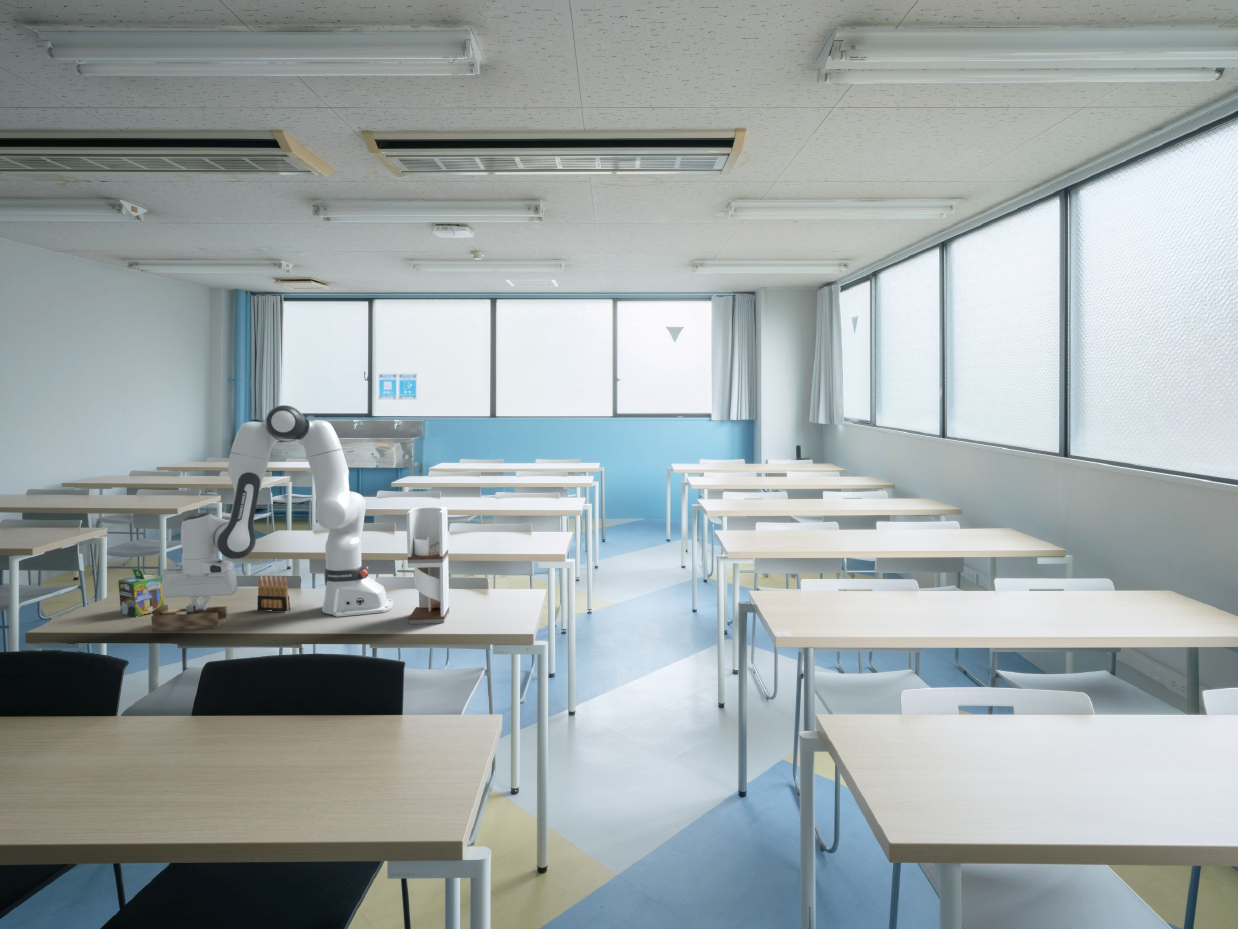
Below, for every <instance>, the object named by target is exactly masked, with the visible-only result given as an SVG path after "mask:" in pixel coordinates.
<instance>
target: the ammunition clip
mask: <svg viewBox="0 0 1238 929" xmlns="http://www.w3.org/2000/svg"><path fill="white" fill-rule="evenodd" d="M273 576H274V577H272V575H271V574H270V575H268V576H267V575H266V574H264V577H263V576H262V574H259V576H258V587H257V590H258V592H257V593H258V594H257V611H258V610H272V611H271V612H275V611H287V612H289V610H290V611H291V605H290V603H291V602H290V595H289V587H288V580H287V577H286V575H284V576H283V577H282V576H281V575H278V578H277V576H276V575H273ZM282 578H283V579H282Z"/></svg>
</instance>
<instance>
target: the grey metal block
mask: <svg viewBox="0 0 1238 929" xmlns="http://www.w3.org/2000/svg"><path fill="white" fill-rule="evenodd" d="M185 608H186V612H180V613H178V614H198V613H199V611H196V610H195V605H194V604H193V603H192V602H191V603H190V604H188V605H186V606H185Z"/></svg>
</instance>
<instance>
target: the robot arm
mask: <svg viewBox="0 0 1238 929" xmlns="http://www.w3.org/2000/svg"><path fill="white" fill-rule="evenodd" d="M295 441H299V442H300V444H302V446H303V448H304V449H303V450H304V452H305V455H306V458H307V462H308V464H309V468H310V472H311V475H312V477H313V484H314V491H315V500H316V503H315V504H316V508H315V514H314V516H315V520H316V522H317V523H318V524H319V525H320V527H322V528H325V529H327V530H328V536H327V539H326V543H325V546H324V547H325V568H324V574H323V575H324V584H325V585H324V586H325V593H324V594H325V595H324V601H323V605H322V608H321V611H322V613H324V614H328V615H333V616H334V617H348V616H357V615H358V616H360V615H368V614H378V613H379V614H380V613H385V612H388V611H390V610H391V609H392V608H393V607H394V600H393V599H392V598H387V591H386V589H385V587H384V586H383V585H382V584H381V583H379V582H377V581H376V580H374V579H373V578H372V577H369V566H364V565H362V536H363V530H364V524H365V516H366V515H365V514H366V510H367V507H368V506H367V501H366V499H365V497H364V496H363V495H362V494H360V493H359V492H356V491H352V490H350V484H349V476H350V470H349V467H348V464H347V460H346V457H345V454H344V451H343V450H344V449H343V448H342V444H341V441H340V438H339V436H338V434H337V432H336V431H335V428H334V427H333V425H332V424H331V423H330V422H328V421H327V420H324V419H323V420H322V419H321V420H319V419H317V420H311V421H310V420H309V419H307V417H306V416H305V415H304V414H303V413H302V412H301V411H300V410H299V409H298V408H296V407H293V406H290V405H284V404H282V405H278V406H277V405H276V406H275V407H273V408H272V409H271V410H270V411H269V412H268V413H267V415H266V418H265V421H264V422H262V421H261V422H259V421H247V422H244V423H242V424H241V425H240V427H239V428H238V430H237V433H236V435H235V437H234V440H233V442H232V445H231V450H230V453H229V458H228V464H227V466H228V468H227V471H228V472H227V474H228V477H229V479H230V481H231V484H232V487H233V490H234V491H233V492H234V493H233V494H234V496H233V497H234V498H233V501H232V507H231V511H230V512H231V513H230V517H229V520H228V519H225V518H221V517H218V516H215V515H214V514H212V513H210V512H199V513H194V514H190V515H188V516H186V517H185V518H183V520H182V522H181V527H180V546H181V547H182V553H181V566H168V567H166V568H165V569H163V571H162V572H161V575H162V576H161V577H162V585H163V586H162V595H163V597H164V598H166V599H168V598H171V599H172V598H190V601H191V603H193V604H194V605H195V610H196V611H199V610H206V609H207V607H208V602H209V601H210V600H211V597H218V596H223V597H224V596H232V595H233V594H235V593H236V592H237V591H238V582H237V576H236V572H235V571H234V570H232V569H233V567H234V563H233V562H232V561H228V560H225V559H221V558H218V557H216V553H217V552H219V553H221V555H223V556H224V557H226V558H227V559H228V558H229V559H232V560H233V559H234V560H235V559H236V560H237V559H241V558H245V557H247V556H248V555H249V554H250V553H252V551H253V550H254V548H255V545H256V542H257V541H256V534H255V530H254V520H255V513H256V509H257V503H258V498H259V493H260V489H261V486H262V484H263V481H264V478H265V474H266V471H267V469H268V465H269V462H270V457H271V452H272V450H273V447H274V446H275V444H276V443H286V442H287V443H288V442H289V443H291V442H295ZM199 597H202V600H204V601H203V603H200V602H199V600H198V599H199Z"/></svg>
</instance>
